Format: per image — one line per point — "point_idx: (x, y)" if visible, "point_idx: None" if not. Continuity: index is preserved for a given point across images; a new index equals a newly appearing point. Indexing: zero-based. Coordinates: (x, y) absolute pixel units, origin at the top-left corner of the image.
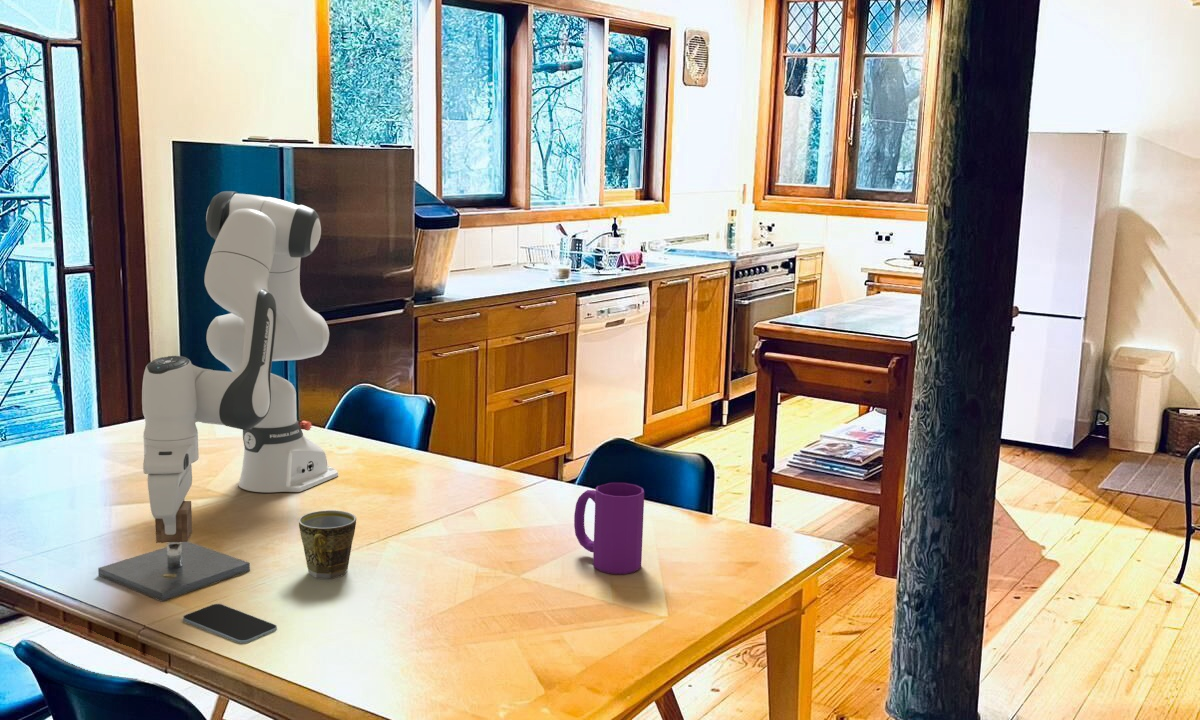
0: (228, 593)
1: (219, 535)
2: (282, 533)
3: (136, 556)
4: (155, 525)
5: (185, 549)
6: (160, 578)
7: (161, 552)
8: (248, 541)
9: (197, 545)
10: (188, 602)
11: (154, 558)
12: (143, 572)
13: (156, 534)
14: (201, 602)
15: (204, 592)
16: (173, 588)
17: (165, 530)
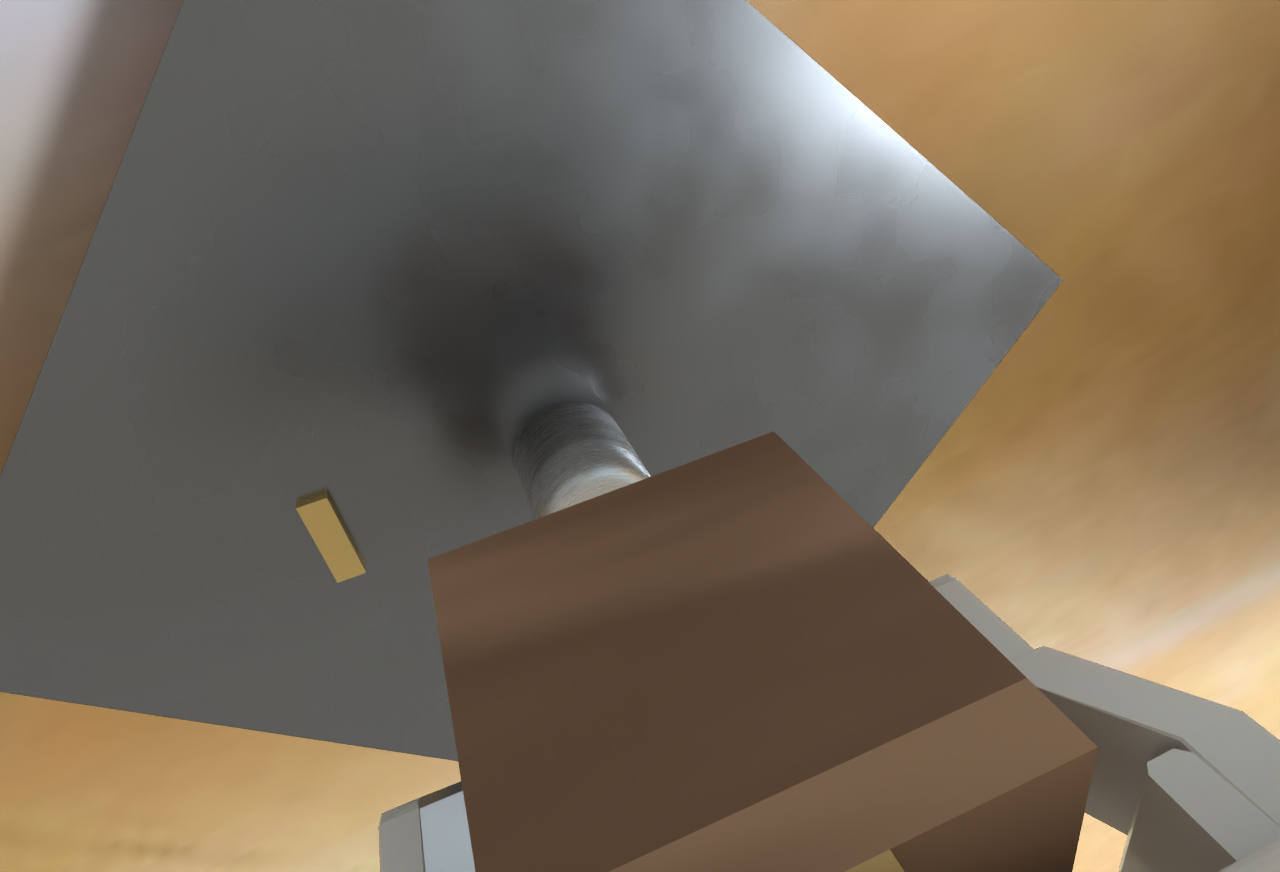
0: (298, 844)
1: (1191, 351)
2: (1133, 616)
3: (748, 10)
4: (460, 742)
5: (893, 360)
6: (252, 499)
7: (841, 209)
8: (1065, 537)
9: (960, 400)
10: (45, 764)
11: (704, 217)
12: (347, 289)
13: (444, 640)
14: (87, 819)
15: (265, 745)
16: (75, 694)
17: (381, 862)
